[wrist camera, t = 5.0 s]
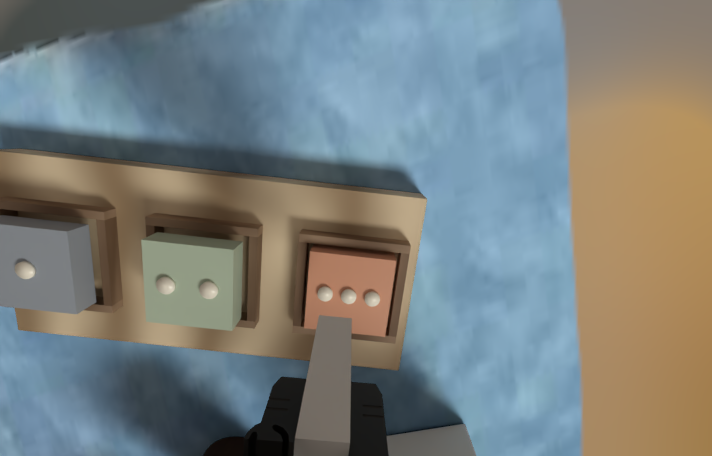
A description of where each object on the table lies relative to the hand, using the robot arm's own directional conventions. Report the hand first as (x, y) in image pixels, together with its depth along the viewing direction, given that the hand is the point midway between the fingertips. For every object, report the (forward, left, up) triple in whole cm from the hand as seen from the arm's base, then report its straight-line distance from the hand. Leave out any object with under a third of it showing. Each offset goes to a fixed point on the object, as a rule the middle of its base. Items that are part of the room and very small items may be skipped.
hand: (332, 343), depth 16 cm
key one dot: (-17, 0, -5) cm, 18 cm away
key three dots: (+1, 0, -6) cm, 6 cm away
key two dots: (-8, 0, -5) cm, 10 cm away
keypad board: (-8, 0, -8) cm, 12 cm away
